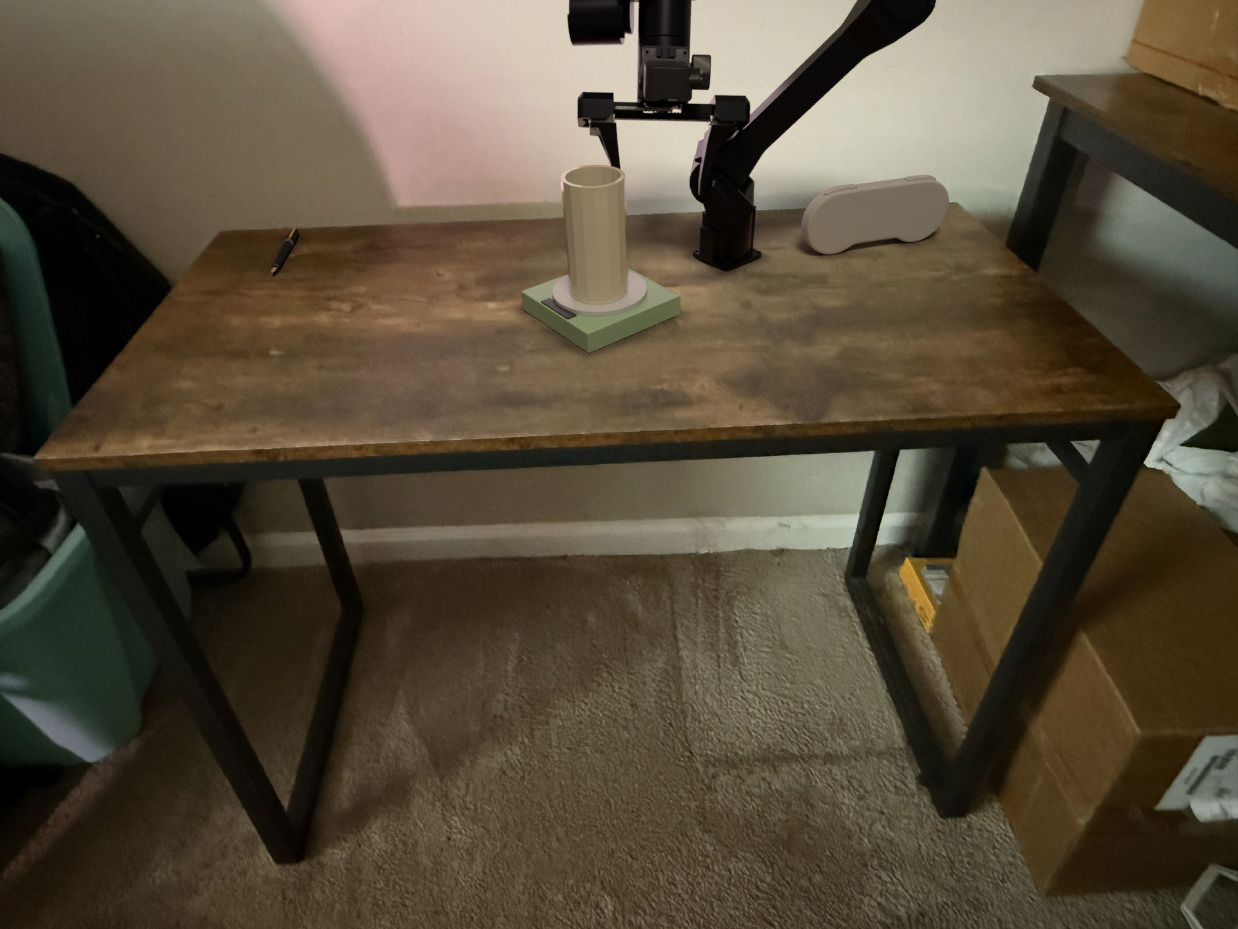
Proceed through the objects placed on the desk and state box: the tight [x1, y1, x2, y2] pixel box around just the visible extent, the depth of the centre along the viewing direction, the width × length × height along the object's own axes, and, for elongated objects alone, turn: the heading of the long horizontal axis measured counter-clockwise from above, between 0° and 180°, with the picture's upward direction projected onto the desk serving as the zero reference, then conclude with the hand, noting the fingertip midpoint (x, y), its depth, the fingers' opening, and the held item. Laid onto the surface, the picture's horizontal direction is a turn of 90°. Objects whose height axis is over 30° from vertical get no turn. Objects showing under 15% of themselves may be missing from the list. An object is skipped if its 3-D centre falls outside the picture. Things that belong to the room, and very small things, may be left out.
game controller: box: [800, 174, 950, 255], centre depth 102 cm, size 20×2×8 cm, turn 105°
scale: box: [520, 267, 681, 354], centre depth 92 cm, size 13×13×3 cm
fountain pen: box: [270, 226, 299, 274], centre depth 108 cm, size 14×1×2 cm, turn 5°
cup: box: [560, 164, 629, 305], centre depth 87 cm, size 6×6×13 cm
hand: (660, 193), depth 91 cm, fingers open, 9 cm apart
